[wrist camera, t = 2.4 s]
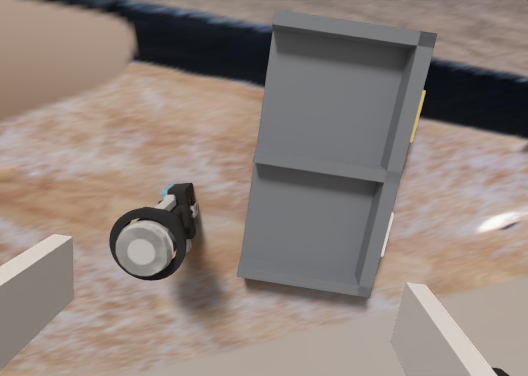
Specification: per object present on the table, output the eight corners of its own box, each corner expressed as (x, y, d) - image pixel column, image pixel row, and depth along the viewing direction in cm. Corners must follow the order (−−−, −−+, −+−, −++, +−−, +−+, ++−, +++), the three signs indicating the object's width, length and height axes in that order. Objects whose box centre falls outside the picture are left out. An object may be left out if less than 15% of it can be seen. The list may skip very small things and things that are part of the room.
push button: (215, 244, 34) (188, 303, 24) (161, 247, 34) (113, 306, 24) (207, 177, 32) (174, 212, 22) (151, 181, 32) (95, 216, 23)
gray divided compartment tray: (240, 261, 34) (236, 276, 31) (275, 18, 28) (274, 9, 25) (365, 281, 34) (373, 298, 31) (424, 40, 28) (441, 34, 25)
